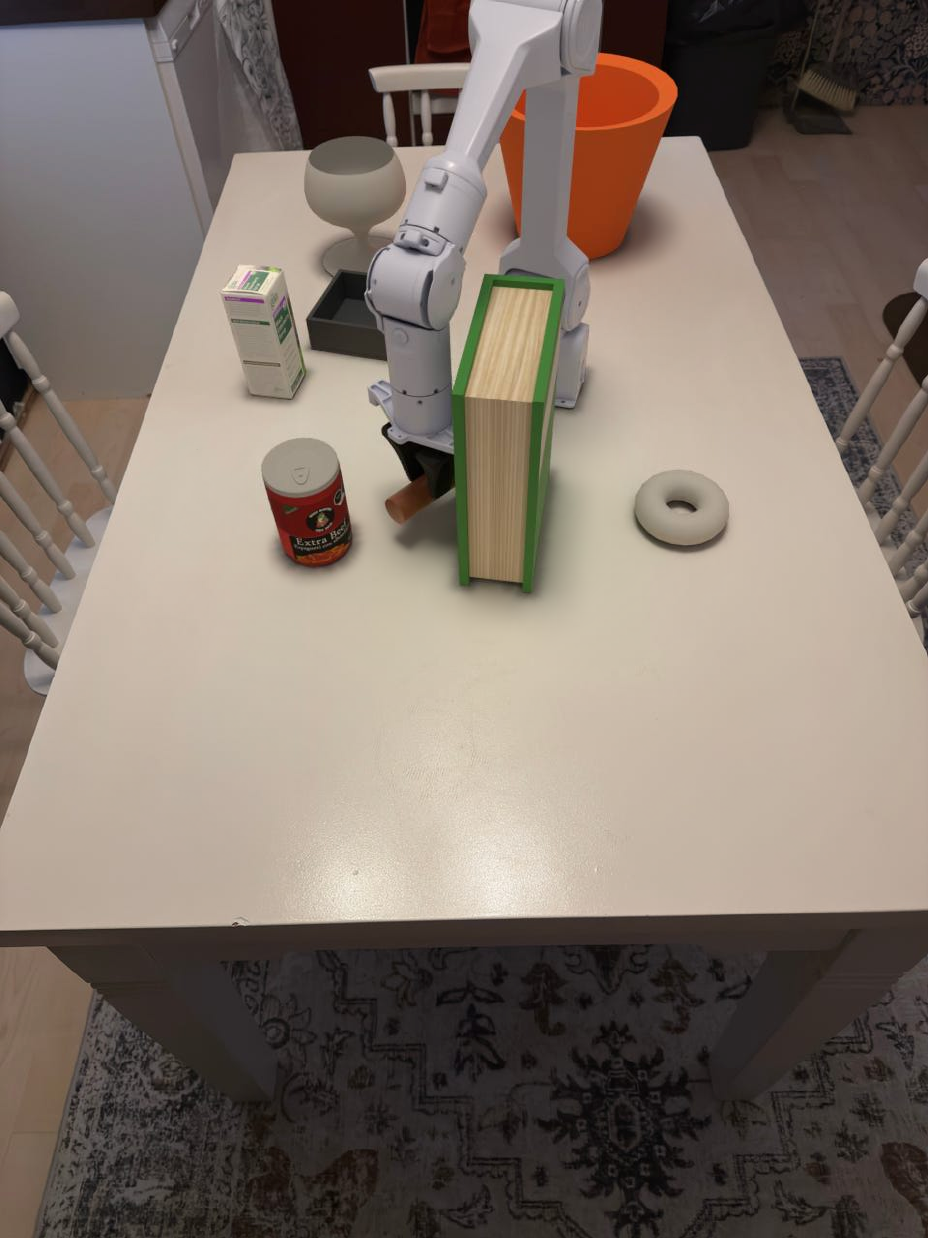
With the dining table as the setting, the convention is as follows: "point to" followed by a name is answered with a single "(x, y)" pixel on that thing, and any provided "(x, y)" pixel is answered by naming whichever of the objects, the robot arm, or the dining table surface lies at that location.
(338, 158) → the chalice
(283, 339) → the syrup box
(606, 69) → the flowerpot
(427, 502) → the wooden dowel
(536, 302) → the hardback book
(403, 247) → the robot arm
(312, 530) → the canned food
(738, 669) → the dining table surface
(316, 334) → the bin
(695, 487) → the donut
